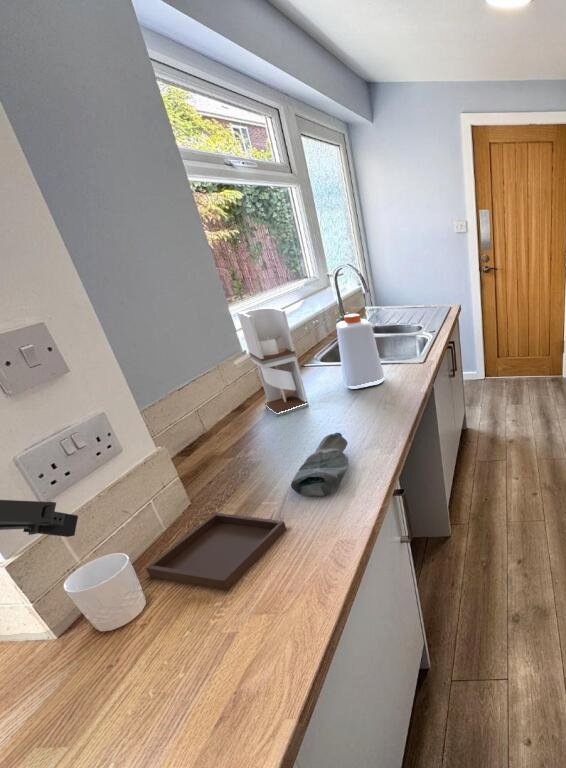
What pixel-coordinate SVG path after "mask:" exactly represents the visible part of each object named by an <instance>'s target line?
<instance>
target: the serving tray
mask: <svg viewBox="0 0 566 768" xmlns="http://www.w3.org/2000/svg"><path fill="white" fill-rule="evenodd" d="M286 531H287V527H286V523H285V521H284V520H276V519H268V518H261V517H252V516H245V515H239V514H231V513H223V512H214V513H213V514H212V515H210V516H209V517H208V518H207V519H206V520H204V521H203V522H202V523H200V524H199V525H198V526H196V527H195V528H194V529H193V530H191V531H190V532H189V533H188V534H186V535H185V536H184V537H183V538H181V539H180V540H179V541H177V542H176V543H175V544H174V545H172V546H171V547H170V548H169V549H167V550H166V551H165V552H163V554H161V555H160V556H158V557H157V558H156V559H155V560H154V561H152V562H151V563H150V564H149V565H147V566H146V567H145V570H146V572H147V574H148V576H149V578H152V579H157V580H161V581H169V582H174V583H180V584H185V585H191V586H192V585H193V586H198V587H204V588H209V589H216V590H221V591H229V590H230V589H231V588H232V587H233V586H234V585H235V584H236V583H237V582H239V580H240V579H241V578H242V577H243V576H244V575H245V574H246V573H247V572H248V571H249V570H250V569H251V568H252V567H253V566H254V564H256V563H257V562H258V561H259V559H260V558H261V557H262V556H264V554H265V553H267V551H268V550H270V549H271V547H272V546H273V545H274V544H275V543H276V542H277V541H278V540H279V539H280V538H281V537H282V536H283V535H284V534H285V533H286Z"/></svg>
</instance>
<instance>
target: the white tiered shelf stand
mask: <svg viewBox="0 0 566 768" xmlns="http://www.w3.org/2000/svg"><path fill="white" fill-rule="evenodd" d="M286 314H287V313H286V311H285V310H284V309H282V308H278V307H275V306H267V307H261V308H255V309H249V310H241V311H237V316H238V319H239V322H240V326H241V329H242V332H243V336H244V340H245V343H246V347H247V351H248V353H249V357H250V359H251V362H252V363H253V364H255V365H256V366H257V370H258V374H259V377H260V380H261V384H262V387H263V390H264V394H265V398H266V400H267V401H265V402H264V403H263V404H264V406H265V405H267V406H268V407H269V408H270V409H272V410H273V411H274V412H276V413H279V412H281V411H285V410H288V409H291V408H293V407H296V406H299V405H302V404H305V403H308V404H306V405H303V406H300V407H297V408H295V409H292V410H289V411H286V412H283V413H280V414H276V413H274V412H273V411H272V410H270V409H269V408H268V407H267V406H265V409H267V410H268V411H269V412H271V413H272V414H273V415H274V416H276V417H277V418H279V417H282V416H285V415H288V414H291V413H294V412H297V411H299V410H303V409H305V408H308V407H309V401H308V398H307V394H306V393H307V392H306V389H305V386H304V382H303V378H302V374H301V370H300V366H299V361H298V358H297V354H296V349H295V345H294V341H293V339H292V334H291V330H290V326H289V322H288V318H287V315H286Z"/></svg>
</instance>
